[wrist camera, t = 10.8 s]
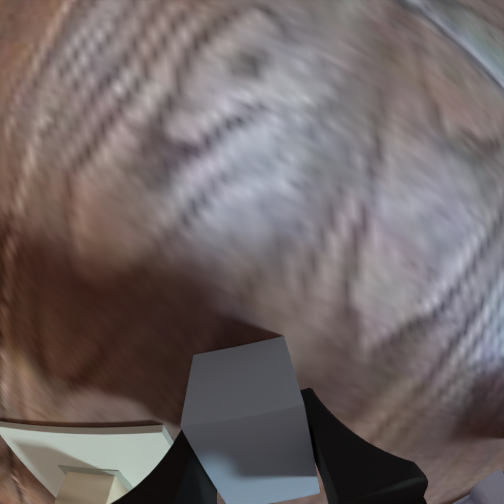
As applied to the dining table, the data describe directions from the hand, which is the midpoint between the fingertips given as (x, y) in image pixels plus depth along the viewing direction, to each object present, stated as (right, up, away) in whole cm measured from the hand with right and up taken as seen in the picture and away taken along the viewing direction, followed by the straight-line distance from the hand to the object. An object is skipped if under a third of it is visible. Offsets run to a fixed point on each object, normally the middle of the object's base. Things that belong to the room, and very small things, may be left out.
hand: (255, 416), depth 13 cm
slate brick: (0, 0, +1) cm, 1 cm away
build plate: (-10, -10, +3) cm, 14 cm away
